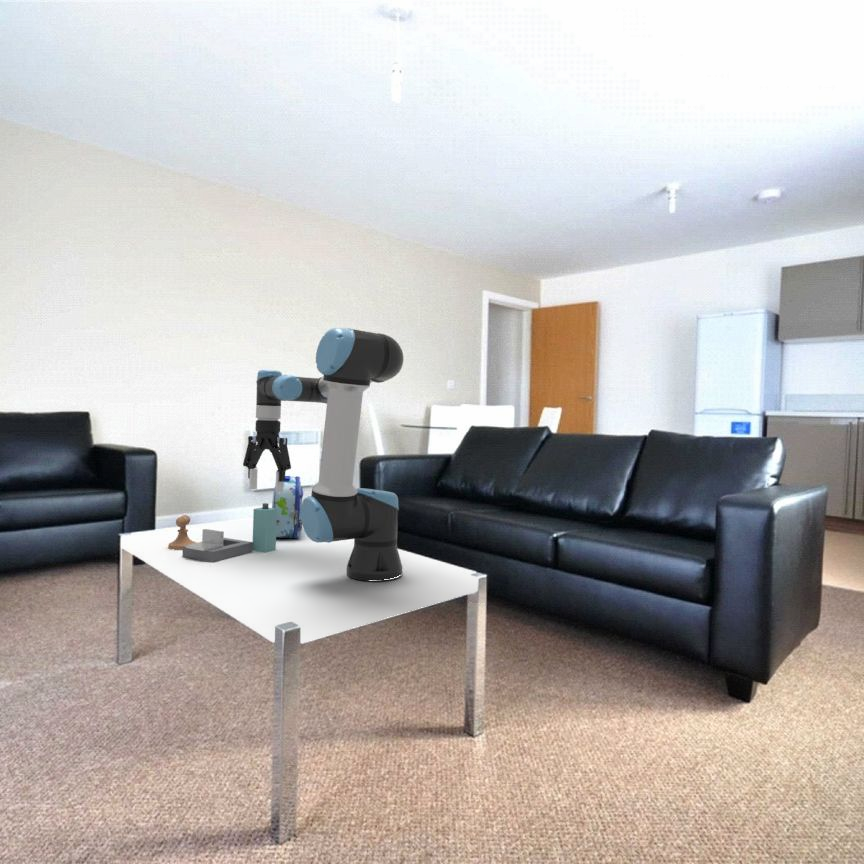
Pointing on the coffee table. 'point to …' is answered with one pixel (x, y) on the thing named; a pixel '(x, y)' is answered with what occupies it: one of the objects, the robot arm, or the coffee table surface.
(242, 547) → the socket
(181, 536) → the brown chess pawn
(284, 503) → the lunch box
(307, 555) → the coffee table surface
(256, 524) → the teal bottle
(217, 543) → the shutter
